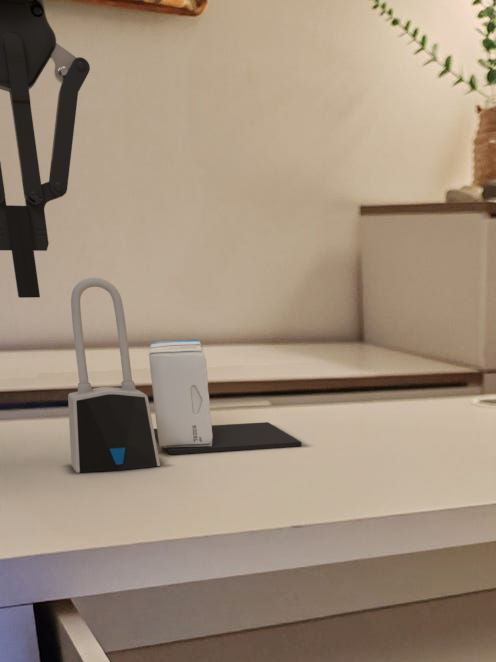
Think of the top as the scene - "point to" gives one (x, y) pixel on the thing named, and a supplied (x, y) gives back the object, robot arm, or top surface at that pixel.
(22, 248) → the robot arm
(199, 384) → the ink box
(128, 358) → the padlock
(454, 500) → the top surface
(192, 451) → the mat
